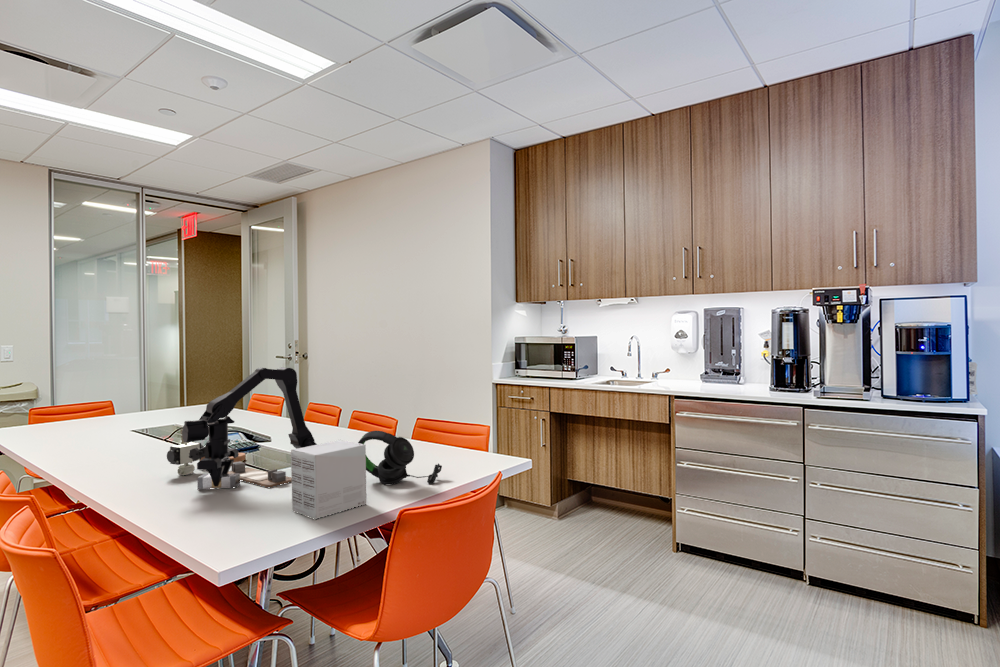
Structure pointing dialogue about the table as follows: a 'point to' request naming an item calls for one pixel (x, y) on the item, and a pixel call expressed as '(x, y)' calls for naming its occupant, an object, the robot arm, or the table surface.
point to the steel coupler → (225, 482)
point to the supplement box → (328, 478)
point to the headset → (393, 459)
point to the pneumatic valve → (183, 457)
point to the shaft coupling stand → (260, 475)
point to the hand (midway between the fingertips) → (219, 484)
